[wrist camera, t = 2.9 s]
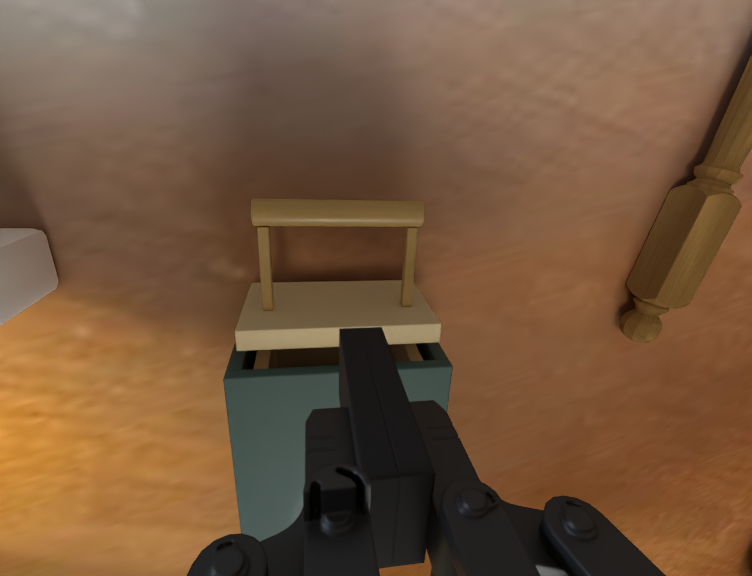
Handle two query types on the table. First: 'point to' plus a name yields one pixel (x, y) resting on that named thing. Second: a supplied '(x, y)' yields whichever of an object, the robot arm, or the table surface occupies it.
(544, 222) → the table surface
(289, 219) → the drawer
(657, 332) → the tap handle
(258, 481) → the cabinet
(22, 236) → the pepper shaker
